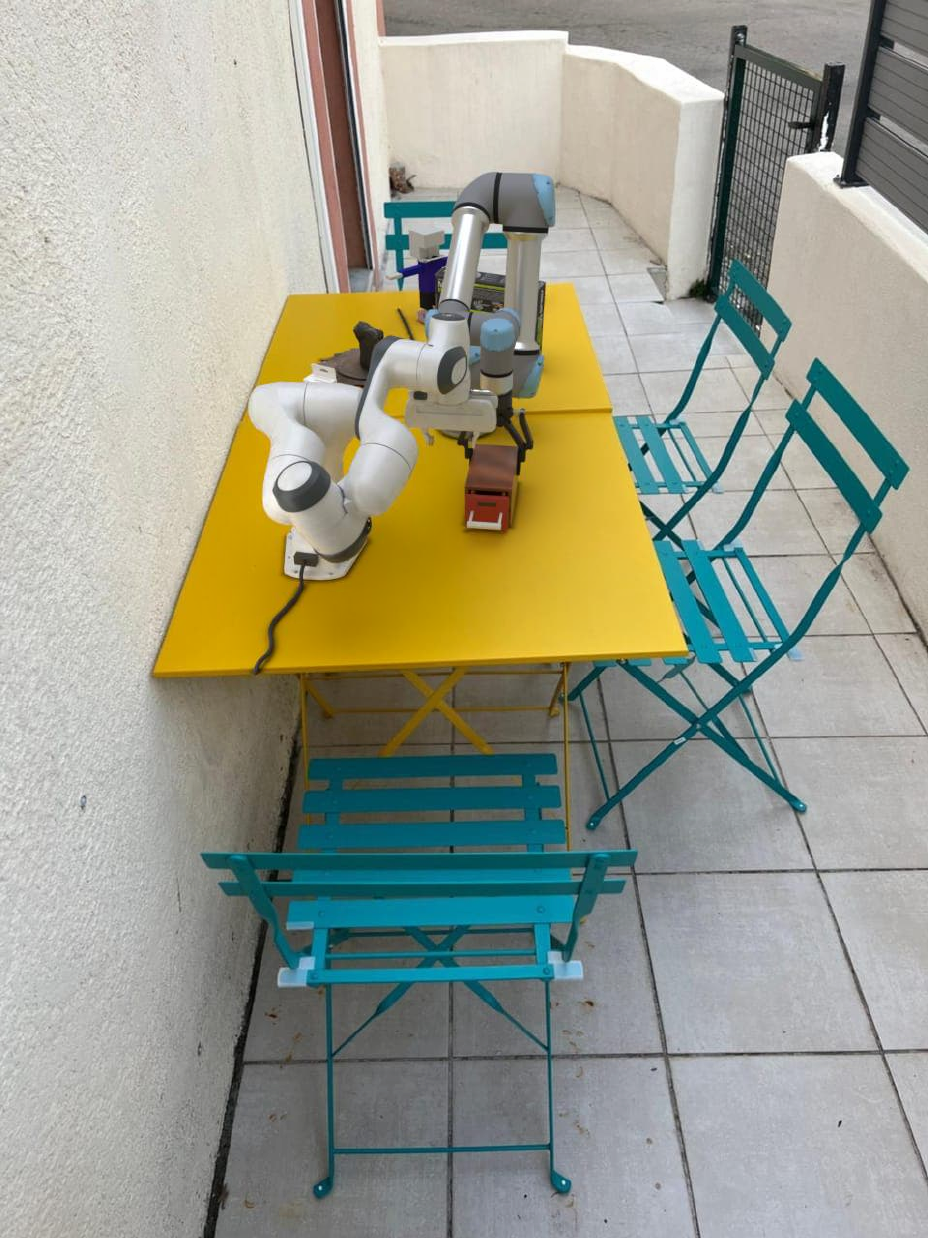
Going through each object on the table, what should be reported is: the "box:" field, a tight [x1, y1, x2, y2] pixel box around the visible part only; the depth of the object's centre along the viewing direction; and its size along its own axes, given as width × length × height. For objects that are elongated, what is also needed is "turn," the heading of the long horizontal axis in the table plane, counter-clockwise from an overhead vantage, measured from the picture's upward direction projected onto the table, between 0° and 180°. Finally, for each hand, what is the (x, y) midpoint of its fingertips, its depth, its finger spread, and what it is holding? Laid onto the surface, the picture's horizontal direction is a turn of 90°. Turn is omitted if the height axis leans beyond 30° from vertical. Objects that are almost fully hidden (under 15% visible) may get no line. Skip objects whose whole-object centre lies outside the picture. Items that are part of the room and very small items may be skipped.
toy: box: [384, 223, 448, 325], centre depth 298 cm, size 35×10×30 cm, turn 130°
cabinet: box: [464, 443, 519, 528], centre depth 215 cm, size 20×11×11 cm, turn 172°
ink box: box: [302, 363, 337, 383], centre depth 249 cm, size 9×5×15 cm, turn 62°
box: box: [435, 266, 547, 355], centre depth 273 cm, size 34×7×27 cm, turn 68°
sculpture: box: [316, 320, 385, 386], centre depth 273 cm, size 33×35×16 cm
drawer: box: [465, 490, 509, 531], centre depth 211 cm, size 25×10×9 cm, turn 172°
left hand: (451, 445), depth 199 cm, fingers open, 8 cm apart
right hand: (494, 471), depth 219 cm, fingers closed on cabinet, 11 cm apart
